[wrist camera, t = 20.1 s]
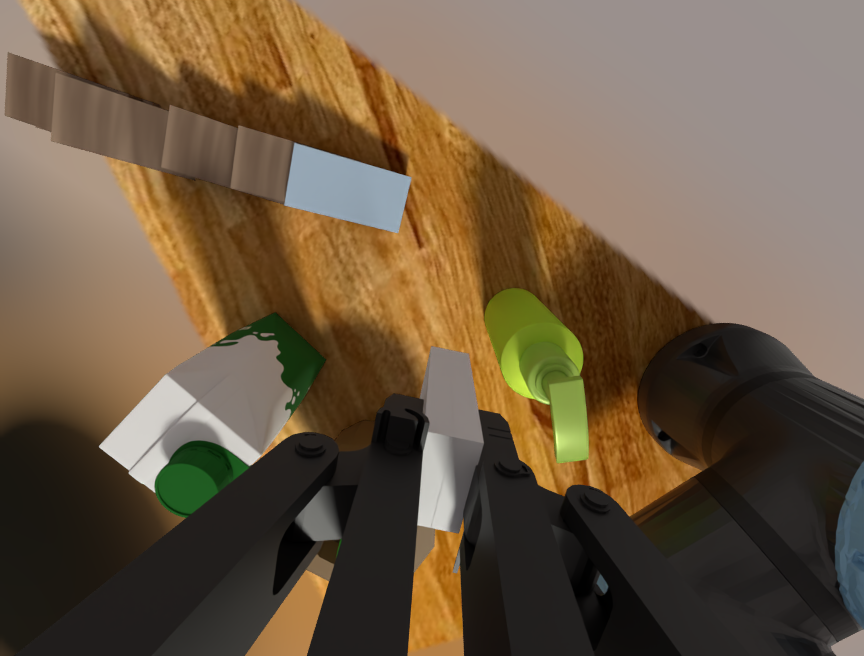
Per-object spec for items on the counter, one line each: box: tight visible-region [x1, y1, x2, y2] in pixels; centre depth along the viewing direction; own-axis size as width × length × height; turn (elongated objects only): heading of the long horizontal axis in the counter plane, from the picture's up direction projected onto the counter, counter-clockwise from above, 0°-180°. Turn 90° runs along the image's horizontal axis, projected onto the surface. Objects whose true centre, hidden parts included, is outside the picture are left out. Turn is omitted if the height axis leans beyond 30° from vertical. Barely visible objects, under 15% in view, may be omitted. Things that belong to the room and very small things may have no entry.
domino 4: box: [230, 125, 360, 202], centre depth 38 cm, size 2×5×10 cm
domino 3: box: [161, 105, 285, 204], centre depth 38 cm, size 2×5×10 cm
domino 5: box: [284, 143, 411, 233], centre depth 38 cm, size 2×5×10 cm
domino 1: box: [5, 52, 143, 131], centre depth 37 cm, size 2×5×10 cm
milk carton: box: [99, 312, 326, 518], centre depth 36 cm, size 9×9×20 cm
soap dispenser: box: [484, 288, 589, 463], centre depth 34 cm, size 6×7×20 cm
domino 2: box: [51, 73, 196, 180], centre depth 36 cm, size 2×5×10 cm
